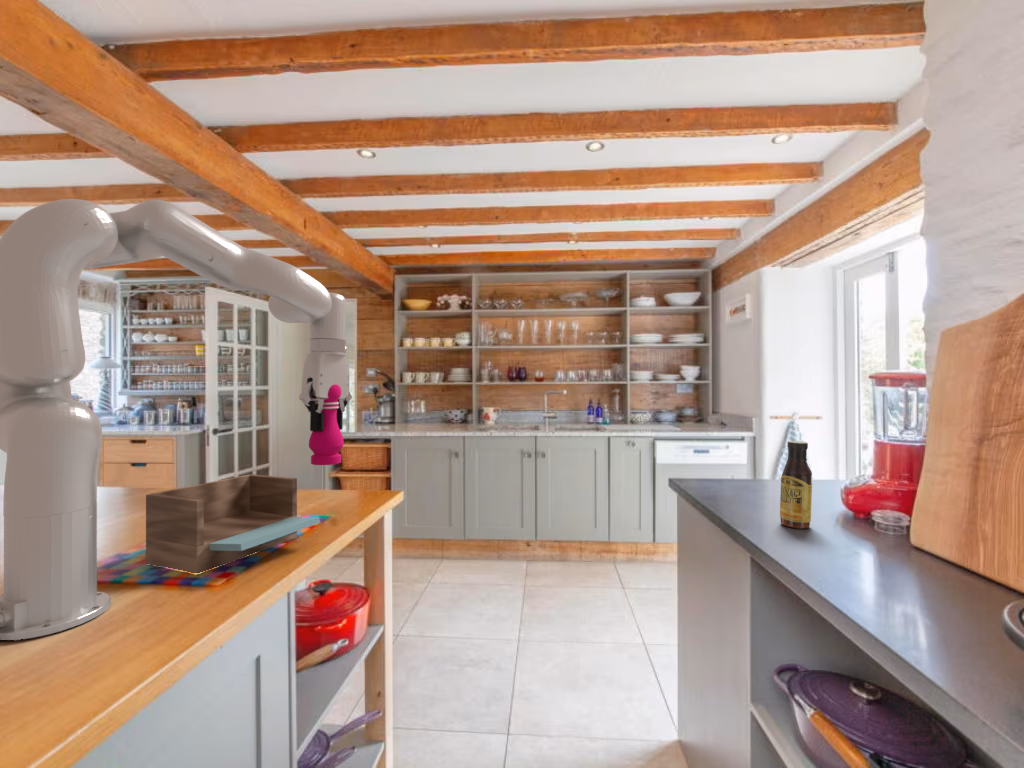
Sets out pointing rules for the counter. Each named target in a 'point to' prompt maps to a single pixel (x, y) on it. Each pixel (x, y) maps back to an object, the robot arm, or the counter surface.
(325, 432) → the pepper mill
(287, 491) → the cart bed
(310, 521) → the panel
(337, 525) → the counter surface
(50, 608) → the robot arm
